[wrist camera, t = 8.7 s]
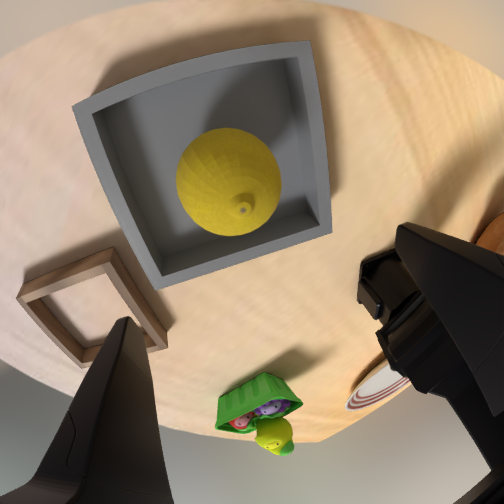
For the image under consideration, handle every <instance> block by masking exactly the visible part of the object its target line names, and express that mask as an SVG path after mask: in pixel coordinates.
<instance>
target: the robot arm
mask: <svg viewBox="0 0 504 504" xmlns="http://www.w3.org/2000/svg"><path fill="white" fill-rule="evenodd" d="M357 302H358V303H359V304H363V305H364V306H365V308H366V309H367V310H368V312H369V313H370V315H371V316H372V317H373V319H375V320H377V319H379V321H380V322H381V323H382V325H383V327H382V328H381V329H380V330H378V331H377V332H376V333H375V334H376V336H377V338H378V342H379V344H380V346H381V348H382V350H383V352H384V354H385V356H386V358H387V360H388V362H389V366H390V369H391V370H392V371H396V372H398V373H399V374H400V375H401V376H403V377H404V378H407V377H408V378H409V380H410V381H411V383H412V384H413V386H414V387H415V389H416V390H417V391H419V392H421V393H424V394H427V393H428V392H429V393H431V394H435V395H438V396H441V397H444V398H446V399H447V401H448V402H449V403H450V405H451V406H452V408H453V409H454V411H455V412H456V414H457V415H458V417H459V418H460V420H461V421H462V423H463V425H464V426H465V428H466V429H467V431H468V432H469V434H470V436H471V437H472V439H473V440H474V442H475V444H476V445H477V447H478V449H479V450H480V452H481V454H482V455H483V457H484V459H485V460H486V462H487V464H488V466H489V467H490V469H491V472H490V473H489V474H488V475H487V476H485V478H483V479H482V480H481V481H480V482H479V483H478V484H477V485H475V486H474V487H473V488H472V489H471V490H470V491H468V492H467V493H466V494H465V495H464V496H462V497H461V498H460V499H458V500H457V501H456V502H455V503H453V504H504V256H503V255H501V254H498V253H496V252H495V253H494V252H493V251H491V250H488V249H486V248H483V247H480V246H478V245H475V244H472V243H469V242H467V241H464V240H461V239H458V238H455V237H453V236H450V235H447V234H444V233H441V232H438V231H435V230H432V229H429V228H426V227H422V226H419V225H416V224H413V223H410V222H406V223H403V224H400V225H399V226H398V227H397V231H396V239H395V249H393V250H390V251H388V252H385V253H383V254H381V255H378V256H376V257H373V258H371V259H368V260H366V261H363V262H362V263H361V265H360V274H359V282H358V292H357ZM0 504H174V501H173V498H172V494H171V490H170V485H169V481H168V476H167V472H166V467H165V462H164V457H163V451H162V446H161V440H160V433H159V427H158V420H157V413H156V405H155V397H154V388H153V380H152V375H151V370H150V365H149V360H148V355H147V349H146V343H145V338H144V335H143V333H142V331H141V330H140V329H139V327H138V326H137V325H136V323H135V322H134V321H133V319H132V318H131V317H129V316H126V317H123V318H120V319H118V320H117V321H116V322H115V324H114V326H113V327H112V329H111V331H110V332H109V334H108V336H107V338H106V339H105V341H104V343H103V345H102V346H101V348H100V350H99V352H98V353H97V355H96V357H95V359H94V361H93V362H92V364H91V366H90V368H89V370H88V372H87V373H86V375H85V377H84V379H83V381H82V383H81V385H80V387H79V389H78V391H77V393H76V394H75V396H74V398H73V401H72V402H71V404H70V407H69V410H68V411H67V413H66V415H65V417H64V419H63V421H62V423H61V425H60V427H59V429H58V431H57V433H56V435H55V437H54V439H53V441H52V443H51V445H50V446H49V448H48V450H47V452H46V454H45V456H44V458H43V459H42V461H41V463H40V465H39V467H38V469H37V471H36V473H35V474H34V476H33V477H32V479H31V480H30V481H29V482H27V483H26V484H25V485H23V486H21V487H19V488H17V489H15V490H13V491H11V492H9V493H7V494H5V495H2V496H0Z"/></svg>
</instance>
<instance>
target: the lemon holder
mask: <svg viewBox="0 0 504 504" xmlns="http://www.w3.org/2000/svg"><path fill="white" fill-rule="evenodd" d="M104 273H106V274H107V275H108V277H109V278H110V280H111V282H112V283H113V285H114V286H115V288H116V289H117V291H118V292H119V294H120V295H121V297H122V298H123V300H124V301H125V303H126V304H127V305H128V307H129V308H130V310H131V311H132V313H133V314H134V315H135V317H136V318H137V319H138V321H139V322H140V324H141V325H142V326H143V328H144V329H145V330H146V332H147V333H144V334H143V335H144V338H145V343H146V349H147V353H151V352H155V351H159V350H163V349H166V348H168V340H167V332H166V330H165V329H164V328H163V326H162V325H161V323H160V322H159V320H158V319H157V317H156V316H155V314H154V313H153V311H152V310H151V308H150V307H149V305H148V303H147V302H146V300H145V299H144V297H143V296H142V294H141V292H140V291H139V289H138V288H137V286H136V284H135V283H134V281H133V279H132V278H131V276H130V274H129V273H128V271H127V269H126V267H125V266H124V264H123V262H122V261H121V259H120V257H119V255H118V253H117V252H116V250H115V248H114V247H111V248H109V249H106V250H104V251H101V252H99V253H96V254H93V255H91V256H88V257H86V258H83V259H81V260H78V261H76V262H74V263H71V264H69V265H66V266H64V267H62V268H59V269H57V270H54V271H52V272H50V273H47V274H45V275H43V276H40V277H38V278H36V279H34V280H31V281H29V282H27V283H25V284H23V285H22V287H21V289H20V291H19V293H18V295H17V297H16V300H17V301H18V302H19V303H20V305H21V306H22V307H23V308H24V310H25V311H26V312H27V313H28V314H29V316H30V317H31V318H32V319H33V320H34V321H35V322H36V324H37V325H38V326H39V327H40V328H41V329H42V330H43V331H44V332H45V334H46V335H47V336H48V337H49V338H50V339H51V340H52V341H53V342H54V343H55V344H56V345H57V346H58V347H59V348H60V349H61V350H62V351H63V352H64V353H65V354H66V355H67V356H68V357H69V358H70V359H71V360H72V361H73V362H75V363H76V364H77V365H78V366H79V367H80V368H81V369H82V368H87V367H90V366H91V364H92V362H93V361H94V359H95V357H96V355H97V353H98V352H99V350H100V348H101V346H102V345H99V346H95V347H91V348H87V349H84V348H83V347H82V346H81V345H80V344H79V343H78V342H77V341H76V340H75V339H74V338H73V337H72V336H71V335H70V334H69V333H68V331H67V330H66V329H65V328H64V327H63V326H62V325H61V324H60V322H59V321H58V320H57V319H56V318H55V317H54V315H53V314H52V313H51V312H50V311H49V309H48V308H47V307H46V306H45V304H44V303H43V302H42V301H41V299H40V297H43V296H45V295H48V294H50V293H53V292H56V291H58V290H61V289H63V288H66V287H69V286H71V285H74V284H77V283H80V282H82V281H85V280H88V279H90V278H93V277H96V276H99V275H101V274H104Z"/></svg>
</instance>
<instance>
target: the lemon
mask: <svg viewBox="0 0 504 504" xmlns="http://www.w3.org/2000/svg"><path fill="white" fill-rule="evenodd" d="M176 186H177V193H178V196H179V199H180V201H181V203H182V206H183V208H184V210H185V211H186V212H187V213H188V215H189V216H190V217H191V218H192V219H193V221H194V222H195V223H197V224H198V225H199V226H201V227H202V228H204V229H205V230H207V231H210V232H212V233H215V234H218V235H224V236H236V235H243V234H246V233H249V232H252V231H253V230H255V229H257V228H259V227H260V226H262V225H263V224H264V223H265V222H266V221H267V220H268V219H269V218H270V216H271V215H272V214H273V212H274V211H275V210H276V207H277V205H278V203H279V200H280V195H281V189H282V182H281V173H280V169H279V167H278V164H277V161H276V159H275V157H274V155H273V154H272V152H271V151H270V150H269V148H268V147H267V146H266V144H265V143H264V142H262V141H261V140H260V139H258V138H257V137H256V136H254V135H253V134H251V133H248V132H246V131H243V130H240V129H235V128H220V129H213V130H210V131H208V132H206V133H203V134H201V135H200V136H198V137H197V138H196V139H194V140H193V141H192V142H191V143H190V144H189V145H188V147H187V148H186V149H185V150H184V152H183V154H182V156H181V158H180V160H179V163H178V165H177V172H176Z"/></svg>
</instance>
